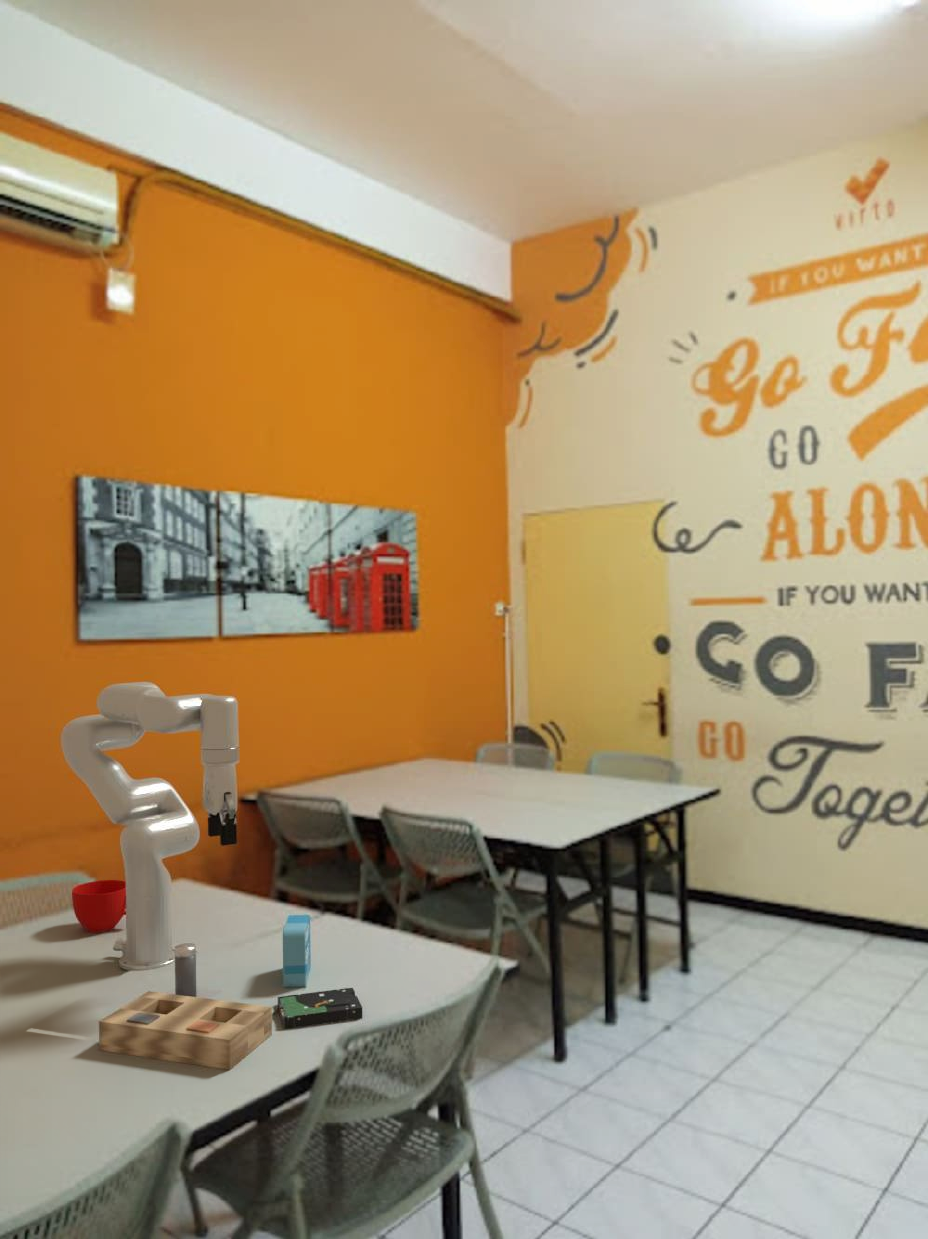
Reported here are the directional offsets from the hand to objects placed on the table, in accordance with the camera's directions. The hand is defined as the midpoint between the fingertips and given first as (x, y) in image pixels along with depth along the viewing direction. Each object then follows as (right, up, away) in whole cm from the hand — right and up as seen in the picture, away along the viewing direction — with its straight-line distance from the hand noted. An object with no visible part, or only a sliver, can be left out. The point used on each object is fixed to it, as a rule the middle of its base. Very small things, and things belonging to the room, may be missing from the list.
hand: (222, 840), depth 196 cm
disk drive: (+22, -30, -14) cm, 40 cm away
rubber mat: (-5, -30, -8) cm, 31 cm away
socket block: (0, -30, -26) cm, 40 cm away
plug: (-5, -29, -8) cm, 31 cm away
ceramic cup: (-37, -30, +37) cm, 61 cm away
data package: (+15, -30, +3) cm, 33 cm away
